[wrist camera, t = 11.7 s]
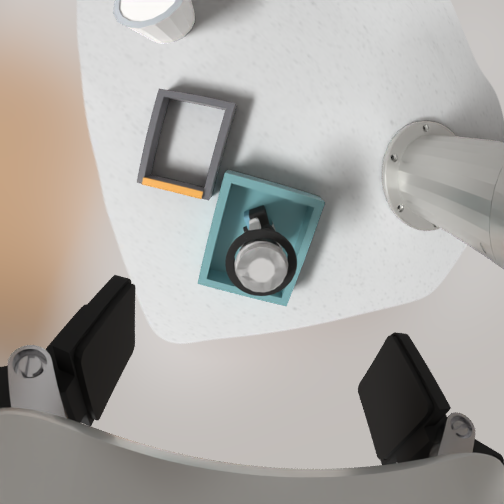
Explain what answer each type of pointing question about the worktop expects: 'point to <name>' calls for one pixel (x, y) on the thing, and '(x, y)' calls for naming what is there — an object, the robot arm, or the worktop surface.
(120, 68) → the worktop surface
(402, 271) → the worktop surface
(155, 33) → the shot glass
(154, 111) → the box
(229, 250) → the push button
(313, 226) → the tray
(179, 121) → the worktop surface
